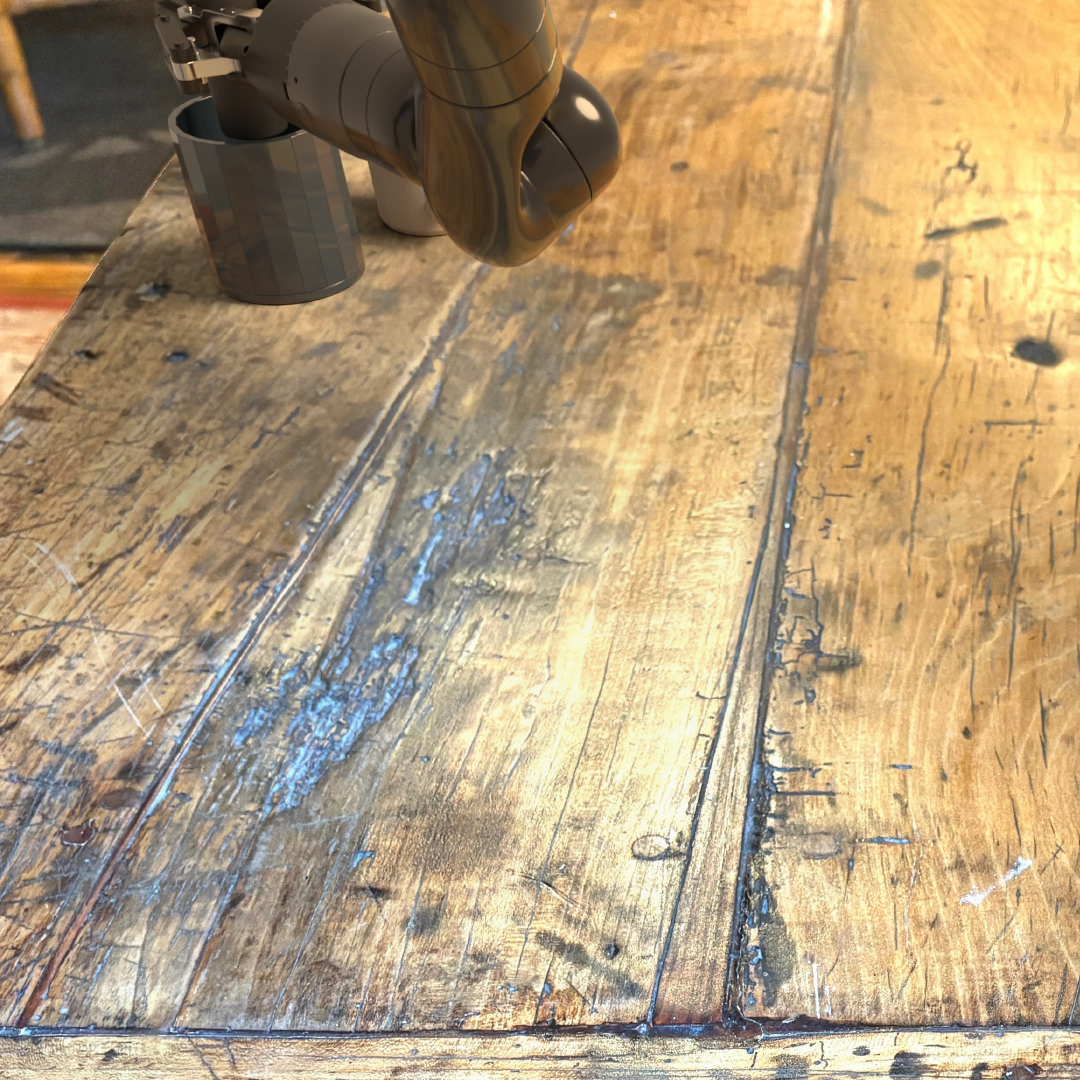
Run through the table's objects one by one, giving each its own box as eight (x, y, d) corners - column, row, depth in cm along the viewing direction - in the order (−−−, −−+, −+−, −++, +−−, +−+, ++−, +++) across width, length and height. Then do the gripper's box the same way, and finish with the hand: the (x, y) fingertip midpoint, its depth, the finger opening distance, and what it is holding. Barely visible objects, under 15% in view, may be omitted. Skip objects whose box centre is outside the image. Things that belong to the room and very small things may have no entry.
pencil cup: (196, 303, 116) (147, 142, 109) (238, 239, 123) (194, 84, 115) (346, 306, 116) (307, 146, 109) (380, 242, 123) (345, 87, 116)
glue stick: (211, 140, 111) (149, -78, 103) (231, 115, 114) (172, -100, 106) (279, 141, 111) (223, -76, 103) (297, 116, 114) (244, -98, 106)
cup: (476, 188, 129) (452, 56, 123) (503, 246, 123) (479, 109, 117) (373, 201, 127) (343, 67, 121) (395, 260, 121) (365, 122, 115)
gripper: (447, -23, 102) (289, -92, 110) (217, 36, 95) (65, -42, 103) (473, 116, 108) (320, 40, 116) (256, 181, 100) (109, 96, 109)
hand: (201, 2), depth 109 cm, fingers closed on glue stick, 4 cm apart
